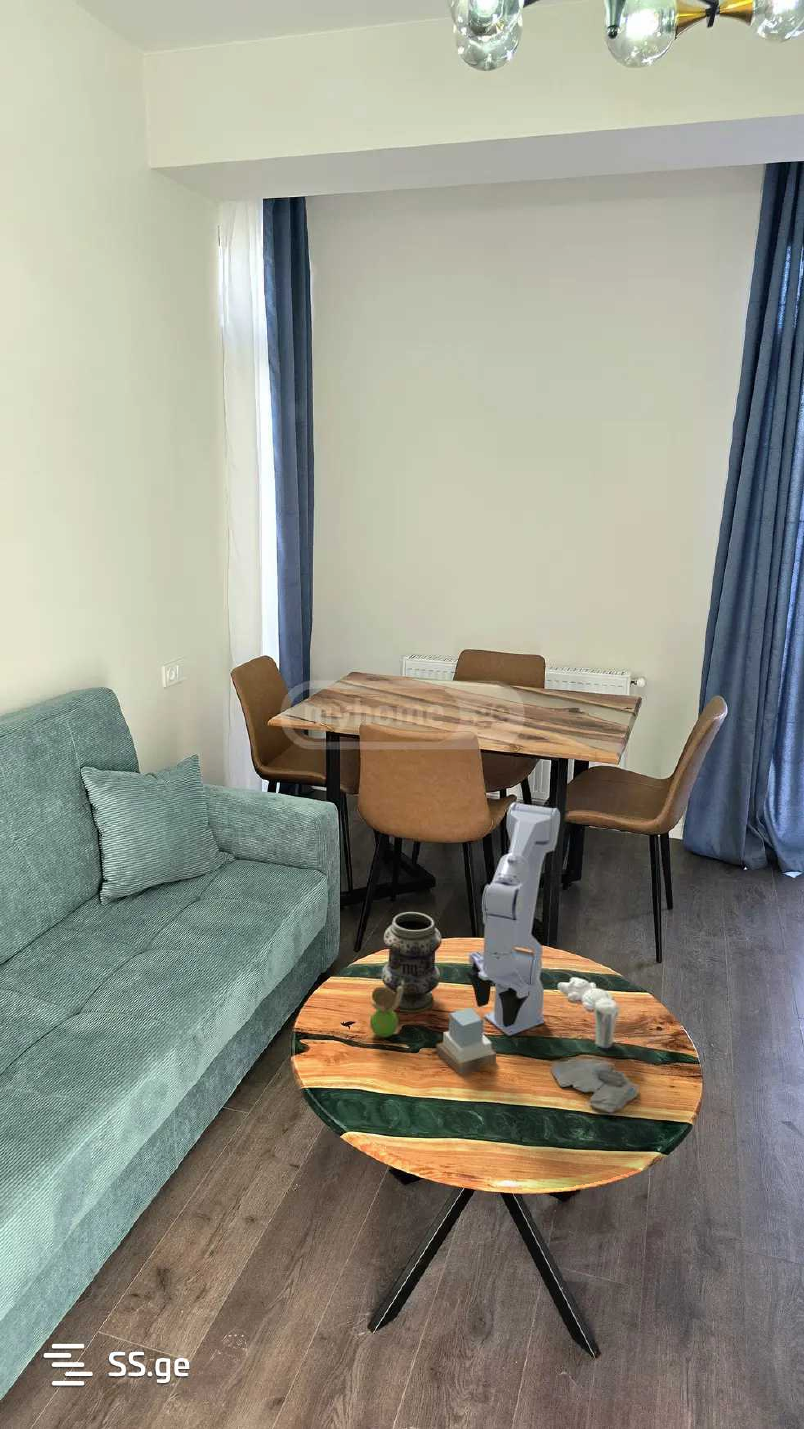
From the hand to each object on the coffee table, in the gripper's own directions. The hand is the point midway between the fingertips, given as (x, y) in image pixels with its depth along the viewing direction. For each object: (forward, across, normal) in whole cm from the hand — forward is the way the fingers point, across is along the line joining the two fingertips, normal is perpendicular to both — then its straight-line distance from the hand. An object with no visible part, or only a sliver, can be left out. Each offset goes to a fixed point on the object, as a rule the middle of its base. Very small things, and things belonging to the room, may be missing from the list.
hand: (495, 1014), depth 174 cm
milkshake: (+10, +6, +22) cm, 25 cm away
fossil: (+11, +14, +11) cm, 21 cm away
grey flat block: (+11, -4, -3) cm, 12 cm away
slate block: (+6, -4, -3) cm, 8 cm away
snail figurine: (+11, -18, -12) cm, 24 cm away
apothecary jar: (+10, -26, -1) cm, 28 cm away
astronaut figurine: (+11, -8, +32) cm, 35 cm away
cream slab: (+8, -4, -3) cm, 10 cm away
